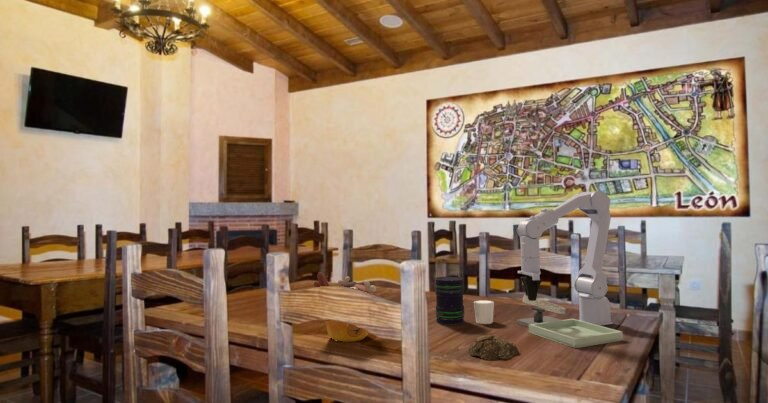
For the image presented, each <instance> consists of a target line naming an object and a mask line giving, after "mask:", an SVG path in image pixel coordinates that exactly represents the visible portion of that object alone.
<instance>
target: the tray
mask: <svg viewBox="0 0 768 403" xmlns="http://www.w3.org/2000/svg"><path fill="white" fill-rule="evenodd" d="M528 333H529V334H532V335H535V336H537V337H541V338H544V339H546V340H550V341H553V342H556V343H558V344H561V345H564V346H568V347H570V348H574V349H579V348H585V347H591V346H596V345H598V346H599V345H603V344H609V343H615V342H621V341H623V336H624V335H623V331H621V330H617V329H614V328H610V327H606V326H604V325H602V326H599V325H595V324H591V323H588V322H584V321H580V319H576V318H568V319H560V320H559V321H551V322H544V323H536V324H529V327H528Z"/></svg>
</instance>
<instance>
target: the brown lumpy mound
mask: <svg viewBox="0 0 768 403" xmlns="http://www.w3.org/2000/svg"><path fill="white" fill-rule="evenodd" d="M519 351H520V350H519V349H518V346H516V344H514V342H512V341H509V340H507V339H504V338H502V337H499V336H496V335H493V334H489V335H486V334H485V335H480V336H478V337H477V338H475V339H474V340H473V342H472V343H471V344H470V345H469V347H468V354H469V356H472V357H479V358H480V359H482V360H484V361H496V359H497V360H507V359H511V358H513V356H517V355H518V354H519Z"/></svg>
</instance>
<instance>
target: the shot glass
mask: <svg viewBox="0 0 768 403" xmlns="http://www.w3.org/2000/svg"><path fill="white" fill-rule="evenodd" d="M473 308H474V315H475V323H477V324H479V325H480V324H481V325H490V324H493V323H494V309H495V302H494V301H493V300H489V299H488V300H487V299H480V300H474V301H473Z"/></svg>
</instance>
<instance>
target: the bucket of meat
mask: <svg viewBox="0 0 768 403" xmlns="http://www.w3.org/2000/svg"><path fill="white" fill-rule="evenodd" d="M316 276H317V278H316V279H317V280H318V281H317V280H316V281H313V286H314V288H315V287H320V286H330V283H329V282H328V280H327V278H326V276H325V275H324V274H323V273H322V272H317V274H316ZM350 280H351V277H350V276H345V277H344V279H339V280H338V282H337V284H338V285H340V286H344V287H350V288H354V289H358V290H361V291H364V292H367V293H370V294H373V295H375V296H376V294H375V293H374V292H376V291H377V287H376V285H374V284H373V285H371V282H370V281H369V280H363V284H361V283H357V281H350ZM349 281H350V282H349ZM330 287H331V286H330ZM324 323H325V327H326V332H327V336H328V337H329V338H330V337H331V338H332V340H333V339H334V340H337V341H343V342H342V343H356V342H359V341H363V340H364V339H365V338H366V337H367V336H368V334H369V333H367V332H366V331H365V330H363V329H360V328H358V327H355V326H352V325H348V324H344V323H340V322H334V321H325V320H324ZM331 338H330V339H331ZM334 340H333V341H334ZM337 341H336V342H337Z"/></svg>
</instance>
